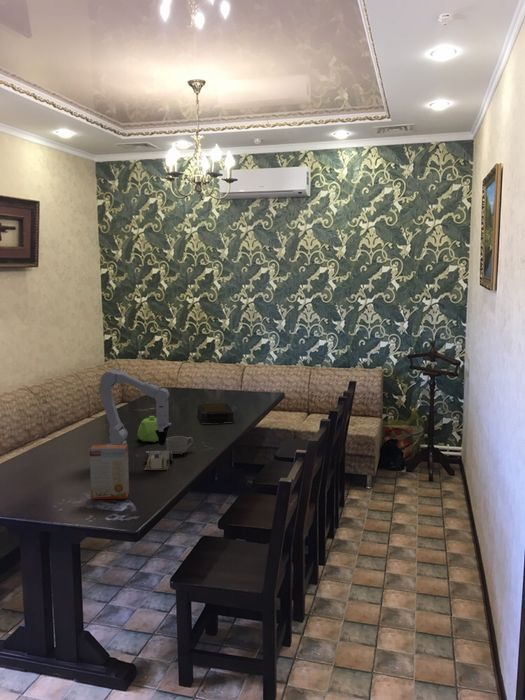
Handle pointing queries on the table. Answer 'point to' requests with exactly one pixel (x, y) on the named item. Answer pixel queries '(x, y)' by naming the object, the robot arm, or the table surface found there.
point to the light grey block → (156, 461)
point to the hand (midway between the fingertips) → (162, 442)
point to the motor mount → (166, 455)
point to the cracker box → (109, 471)
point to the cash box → (214, 413)
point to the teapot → (148, 430)
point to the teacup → (178, 444)
